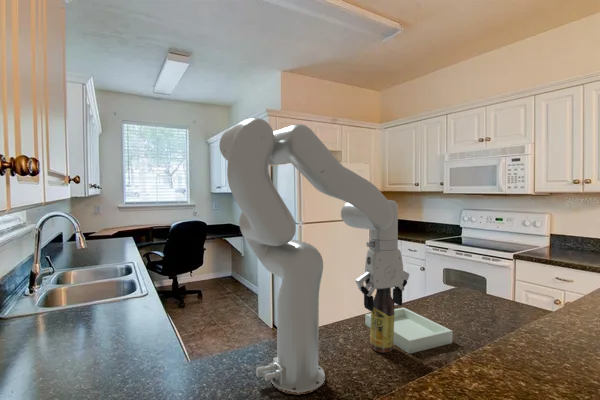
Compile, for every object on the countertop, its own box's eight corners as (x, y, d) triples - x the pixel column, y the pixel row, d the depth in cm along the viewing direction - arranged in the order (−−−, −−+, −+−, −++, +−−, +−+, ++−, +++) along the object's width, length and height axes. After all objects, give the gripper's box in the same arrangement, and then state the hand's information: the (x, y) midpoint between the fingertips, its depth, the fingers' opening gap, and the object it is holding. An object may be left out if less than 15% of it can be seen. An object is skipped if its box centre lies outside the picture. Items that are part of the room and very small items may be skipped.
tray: (409, 353, 83) (409, 340, 83) (365, 324, 101) (365, 314, 101) (452, 342, 89) (452, 330, 89) (403, 317, 108) (403, 307, 108)
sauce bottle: (365, 345, 88) (366, 275, 87) (384, 341, 90) (385, 273, 90) (379, 356, 82) (380, 281, 81) (399, 352, 84) (399, 279, 83)
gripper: (365, 249, 78) (365, 316, 79) (417, 244, 85) (417, 306, 86) (349, 245, 85) (349, 306, 86) (398, 240, 92) (398, 298, 93)
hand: (383, 306), depth 86 cm, fingers open, 9 cm apart
